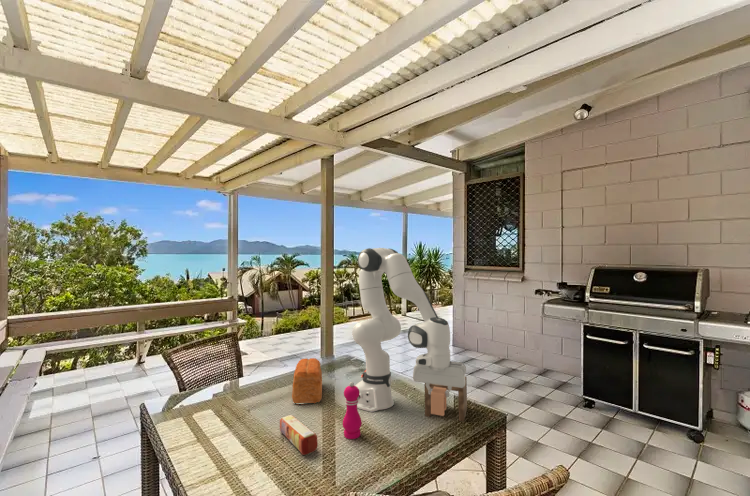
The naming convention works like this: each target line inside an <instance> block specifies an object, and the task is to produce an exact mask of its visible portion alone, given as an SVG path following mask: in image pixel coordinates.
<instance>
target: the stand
mask: <svg viewBox="0 0 750 496" xmlns="http://www.w3.org/2000/svg"><path fill="white" fill-rule="evenodd" d="M467 381H468V380H467V376H465V386H464V387H463V388H459V387H452V389H451V391H453V392H458V395H457V396H458V399H457V400H458V421H459V422H465V419H466V415H467V410H468V392H467V391H468V389H467V386H468V385H467V383H468V382H467ZM423 384H424V417H428V418H430V417H431V415H432V414H431V395H429V394H428V389H427V387H426V383H423ZM429 386H430V388H431V389H433V388H434V387H441V388H447V391H448V390H449V389H448V386H444V385H437V384H430V385H429Z"/></svg>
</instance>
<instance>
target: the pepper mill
mask: <svg viewBox="0 0 750 496" xmlns="http://www.w3.org/2000/svg"><path fill="white" fill-rule="evenodd" d="M359 394H360V392H359V389H358V387H356V386H355V383H354V381H350V382H349V384H348V385H347V386H346V387H345V388H344V390H343V396H344V398H345V399H344V401H346V402H344V403H346V405H345V406H346V411H345V414H344V417H343V419H342V427H343V429H344V430H343V436H344V438H345V439H348V440H355V439H358V438H360V437H361V434H362V433H361V427H362V424H363V423H362V418H361V415H360V413H359V410H358V408H357V404H358V397H359Z"/></svg>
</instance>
